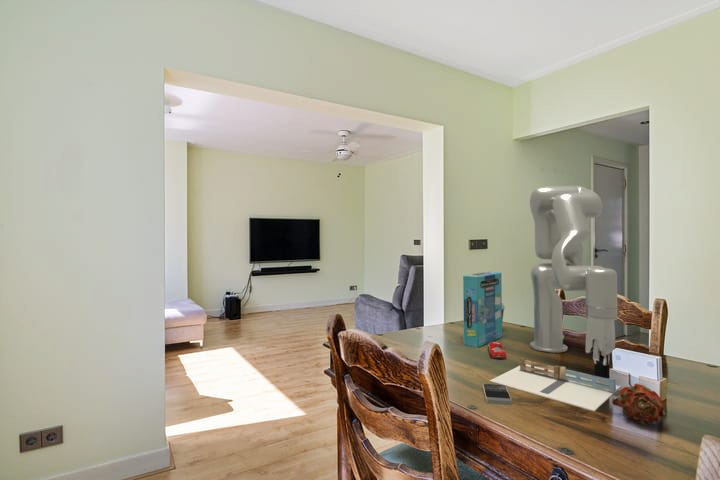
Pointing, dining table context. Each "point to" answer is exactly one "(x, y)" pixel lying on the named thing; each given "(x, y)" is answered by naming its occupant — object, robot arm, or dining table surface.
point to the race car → (496, 350)
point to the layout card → (555, 388)
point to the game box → (482, 308)
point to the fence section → (545, 366)
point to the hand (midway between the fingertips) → (602, 378)
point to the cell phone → (497, 394)
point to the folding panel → (610, 381)
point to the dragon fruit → (640, 404)
